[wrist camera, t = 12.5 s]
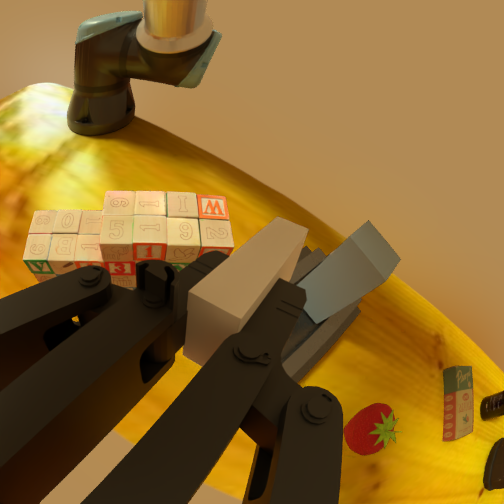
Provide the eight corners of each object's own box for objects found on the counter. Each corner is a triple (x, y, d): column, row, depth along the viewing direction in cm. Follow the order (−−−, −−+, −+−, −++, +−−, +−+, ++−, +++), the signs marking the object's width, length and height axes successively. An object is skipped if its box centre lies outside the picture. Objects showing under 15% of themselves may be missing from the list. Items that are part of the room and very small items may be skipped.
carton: (440, 441, 33) (457, 439, 29) (441, 369, 42) (457, 364, 38) (458, 435, 34) (473, 432, 31) (458, 369, 43) (473, 364, 40)
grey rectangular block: (289, 291, 38) (349, 236, 27) (310, 274, 41) (368, 220, 29) (316, 324, 36) (386, 280, 25) (335, 304, 39) (400, 259, 28)
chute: (187, 326, 31) (192, 315, 28) (304, 247, 44) (319, 231, 41) (260, 416, 28) (276, 417, 24) (358, 312, 41) (377, 301, 37)
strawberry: (370, 417, 32) (421, 411, 24) (346, 459, 27) (398, 463, 19) (345, 398, 33) (397, 388, 25) (318, 441, 28) (370, 445, 20)
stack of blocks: (47, 295, 26) (10, 242, 16) (54, 252, 29) (27, 189, 19) (208, 297, 34) (236, 246, 25) (203, 254, 37) (227, 194, 28)
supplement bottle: (489, 399, 42) (523, 387, 32) (486, 422, 38) (522, 411, 28) (481, 395, 42) (518, 381, 32) (478, 419, 37) (517, 407, 28)
